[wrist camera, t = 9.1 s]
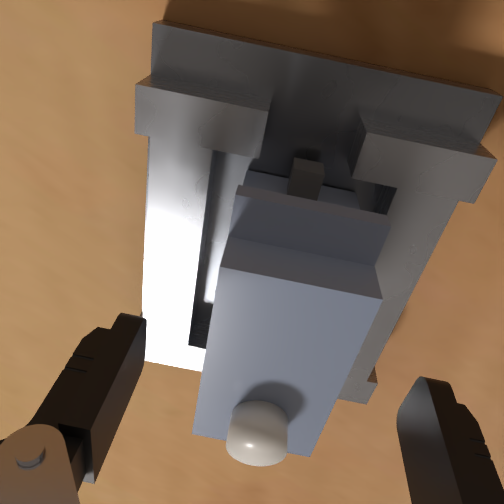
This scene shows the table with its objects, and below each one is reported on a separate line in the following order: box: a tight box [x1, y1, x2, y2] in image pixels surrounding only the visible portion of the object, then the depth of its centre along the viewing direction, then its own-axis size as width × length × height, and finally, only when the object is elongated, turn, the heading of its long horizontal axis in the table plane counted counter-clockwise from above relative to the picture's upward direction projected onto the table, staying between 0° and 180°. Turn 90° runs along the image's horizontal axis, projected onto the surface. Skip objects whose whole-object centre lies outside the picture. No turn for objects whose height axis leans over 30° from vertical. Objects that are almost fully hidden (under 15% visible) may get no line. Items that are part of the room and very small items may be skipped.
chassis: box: [135, 20, 503, 404], centre depth 17 cm, size 15×11×2 cm
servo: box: [192, 157, 391, 466], centre depth 14 cm, size 10×4×7 cm, turn 170°
